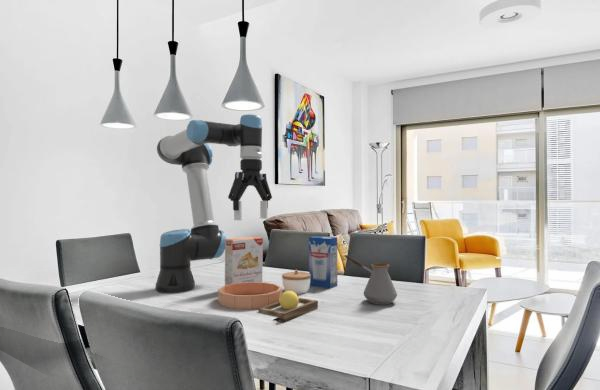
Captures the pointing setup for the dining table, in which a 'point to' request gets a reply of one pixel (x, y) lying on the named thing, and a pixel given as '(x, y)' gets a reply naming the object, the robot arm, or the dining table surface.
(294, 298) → the ball
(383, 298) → the coffee pot
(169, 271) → the robot arm
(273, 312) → the tray
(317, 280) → the milk carton
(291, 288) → the lidded jar
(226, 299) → the bowl
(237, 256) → the cracker box
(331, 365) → the dining table surface
